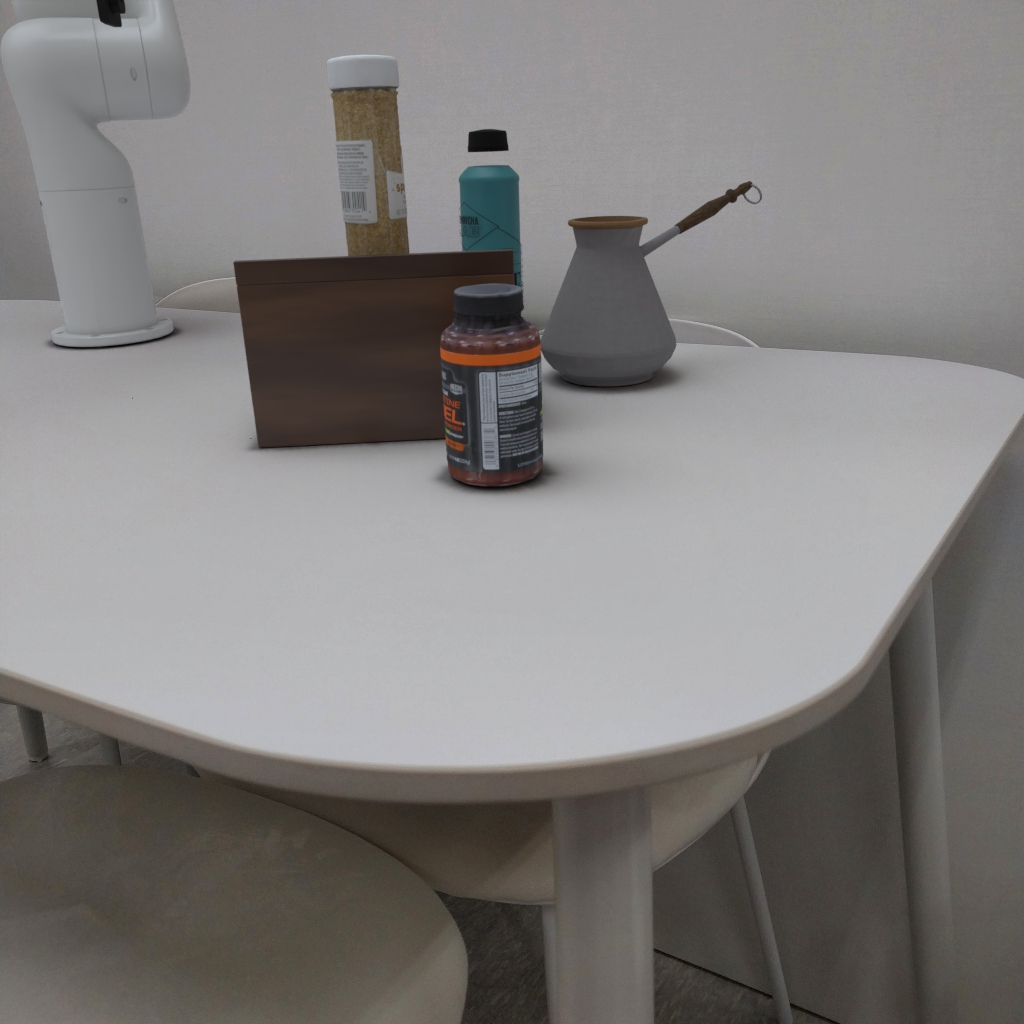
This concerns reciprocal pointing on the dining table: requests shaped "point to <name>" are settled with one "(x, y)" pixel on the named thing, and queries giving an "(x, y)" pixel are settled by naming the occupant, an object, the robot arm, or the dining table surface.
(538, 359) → the supplement bottle
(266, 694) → the dining table surface
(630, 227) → the coffee pot
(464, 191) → the beverage bottle
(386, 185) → the spice jar
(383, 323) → the shelf
